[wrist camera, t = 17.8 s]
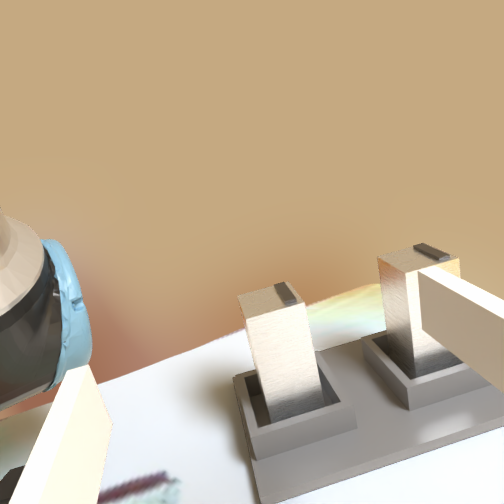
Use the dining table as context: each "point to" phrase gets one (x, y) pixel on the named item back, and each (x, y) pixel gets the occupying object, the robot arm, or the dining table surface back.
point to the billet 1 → (282, 351)
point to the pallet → (362, 419)
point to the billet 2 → (412, 309)
